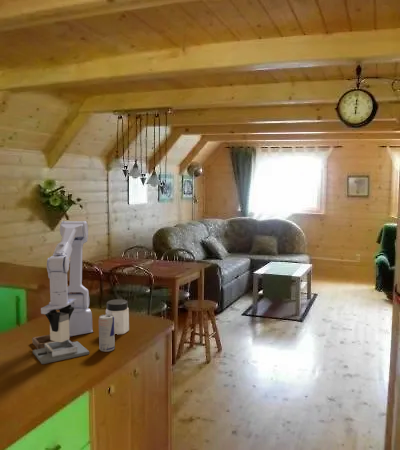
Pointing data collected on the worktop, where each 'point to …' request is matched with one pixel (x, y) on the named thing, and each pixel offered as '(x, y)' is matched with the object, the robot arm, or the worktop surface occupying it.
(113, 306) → the jar
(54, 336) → the plug
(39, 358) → the socket board
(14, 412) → the worktop surface
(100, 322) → the energy drink
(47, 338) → the brown square tray
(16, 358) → the worktop surface
